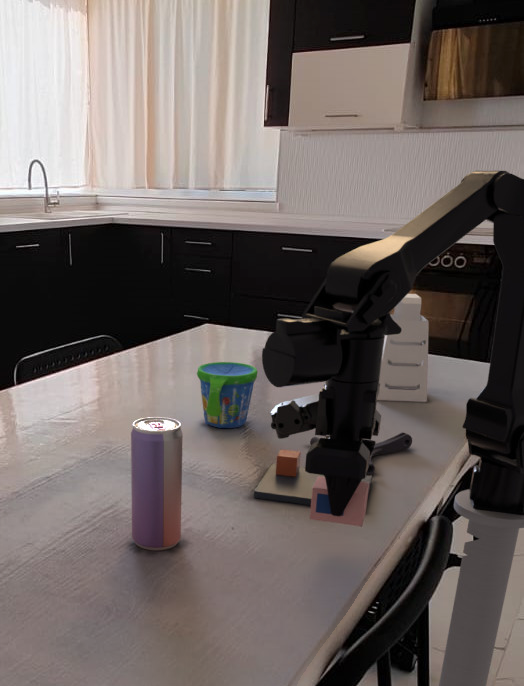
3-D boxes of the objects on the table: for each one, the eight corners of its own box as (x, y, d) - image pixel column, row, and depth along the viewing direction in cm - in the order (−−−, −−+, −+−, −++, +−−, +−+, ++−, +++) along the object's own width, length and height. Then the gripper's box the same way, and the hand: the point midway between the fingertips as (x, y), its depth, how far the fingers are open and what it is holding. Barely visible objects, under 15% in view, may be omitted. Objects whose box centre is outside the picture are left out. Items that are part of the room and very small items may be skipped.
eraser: (365, 513, 91) (369, 482, 90) (361, 527, 88) (365, 494, 86) (315, 506, 93) (317, 475, 92) (309, 519, 90) (312, 487, 88)
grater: (416, 388, 165) (430, 292, 157) (426, 401, 155) (442, 300, 147) (367, 387, 166) (378, 291, 158) (373, 399, 156) (386, 298, 148)
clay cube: (299, 470, 115) (300, 451, 114) (295, 477, 112) (297, 457, 111) (279, 468, 116) (280, 449, 115) (275, 474, 113) (276, 455, 112)
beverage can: (138, 554, 91) (137, 433, 85) (127, 534, 96) (125, 418, 90) (186, 549, 92) (189, 429, 86) (173, 529, 98) (174, 414, 92)
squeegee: (440, 461, 122) (442, 444, 121) (365, 475, 116) (367, 457, 115) (379, 436, 134) (381, 421, 133) (309, 447, 128) (310, 431, 127)
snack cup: (235, 439, 132) (238, 381, 127) (180, 430, 136) (181, 373, 132) (267, 416, 144) (270, 362, 140) (215, 409, 149) (217, 356, 145)
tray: (371, 482, 114) (372, 475, 113) (362, 512, 103) (363, 505, 103) (271, 469, 118) (271, 463, 118) (253, 497, 108) (254, 491, 107)
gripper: (294, 354, 94) (285, 473, 101) (261, 390, 78) (253, 529, 84) (388, 361, 91) (373, 484, 97) (373, 401, 75) (356, 545, 81)
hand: (338, 508), depth 90 cm, fingers closed on eraser, 4 cm apart
